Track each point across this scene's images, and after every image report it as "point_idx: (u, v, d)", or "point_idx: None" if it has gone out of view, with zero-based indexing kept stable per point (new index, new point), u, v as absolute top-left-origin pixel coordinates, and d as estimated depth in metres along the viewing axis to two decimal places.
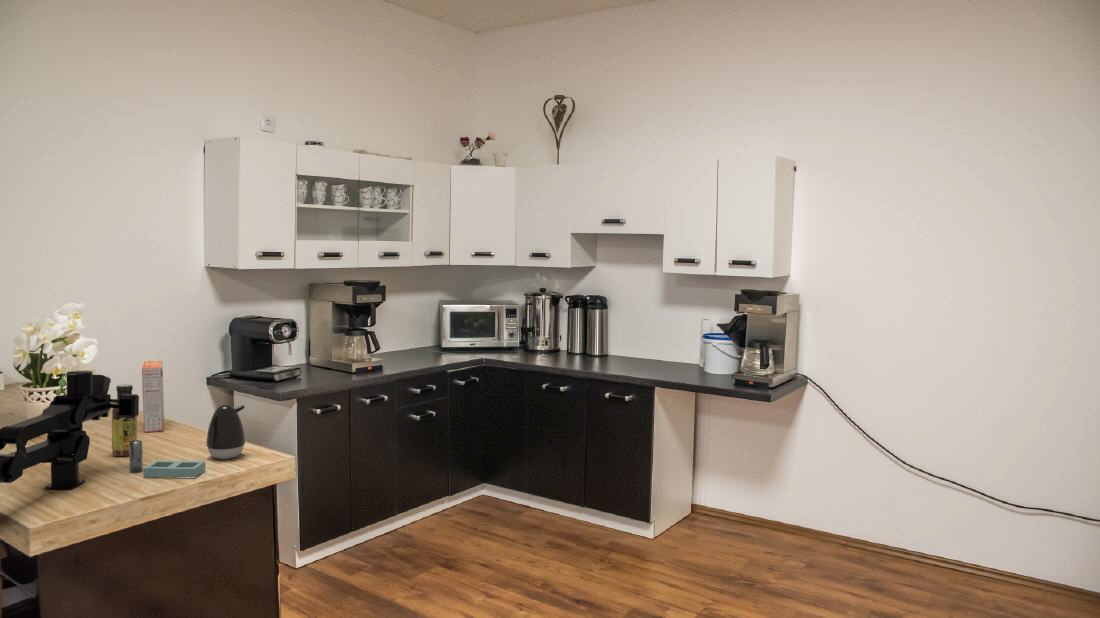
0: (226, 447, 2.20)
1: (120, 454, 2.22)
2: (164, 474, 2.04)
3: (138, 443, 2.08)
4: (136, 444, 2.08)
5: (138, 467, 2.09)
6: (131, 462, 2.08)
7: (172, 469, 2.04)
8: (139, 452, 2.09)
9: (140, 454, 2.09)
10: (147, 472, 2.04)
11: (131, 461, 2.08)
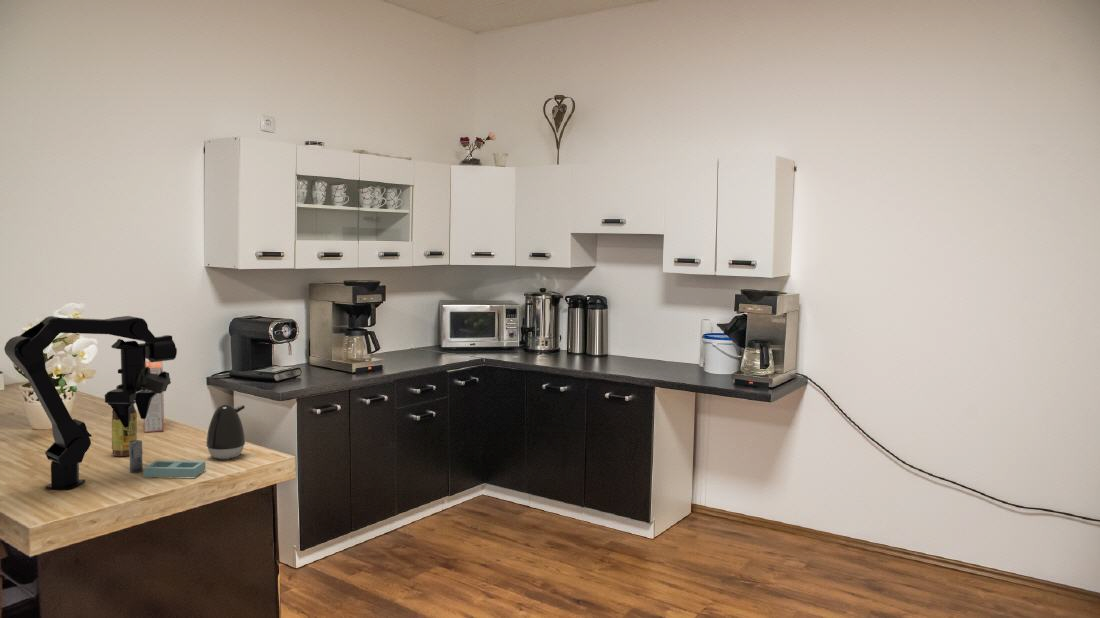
0: (226, 447, 2.20)
1: (120, 454, 2.22)
2: (164, 474, 2.04)
3: (138, 443, 2.08)
4: (136, 444, 2.08)
5: (138, 467, 2.09)
6: (131, 462, 2.08)
7: (172, 469, 2.04)
8: (139, 452, 2.09)
9: (140, 454, 2.09)
10: (147, 472, 2.04)
11: (131, 461, 2.08)
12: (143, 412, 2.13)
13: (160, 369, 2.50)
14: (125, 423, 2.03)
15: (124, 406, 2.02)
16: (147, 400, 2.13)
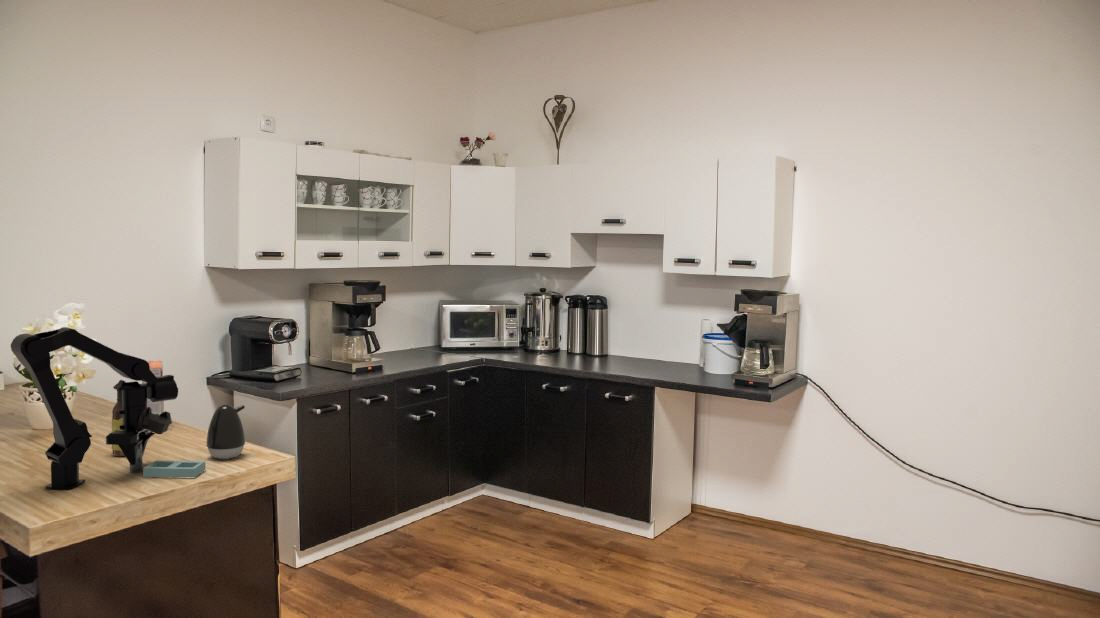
0: (226, 447, 2.20)
1: (120, 454, 2.22)
2: (164, 474, 2.04)
3: None
4: None
5: (138, 467, 2.09)
6: None
7: (172, 469, 2.04)
8: (139, 452, 2.09)
9: (140, 454, 2.09)
10: (147, 472, 2.04)
11: None
12: None
13: (160, 369, 2.50)
14: (132, 461, 2.07)
15: (131, 444, 2.06)
16: (143, 442, 2.11)
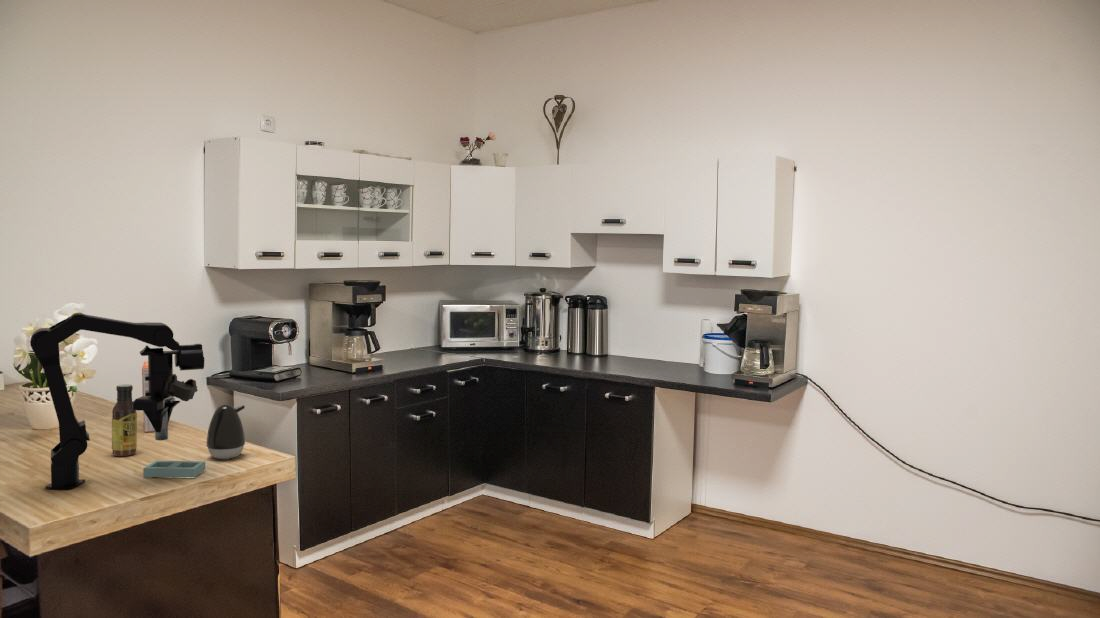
0: (226, 447, 2.20)
1: (120, 454, 2.22)
2: (164, 474, 2.04)
3: None
4: None
5: (164, 434, 2.06)
6: None
7: (172, 469, 2.04)
8: (165, 419, 2.06)
9: (166, 421, 2.06)
10: (147, 472, 2.04)
11: None
12: None
13: None
14: (157, 428, 2.05)
15: (156, 411, 2.04)
16: (168, 410, 2.08)
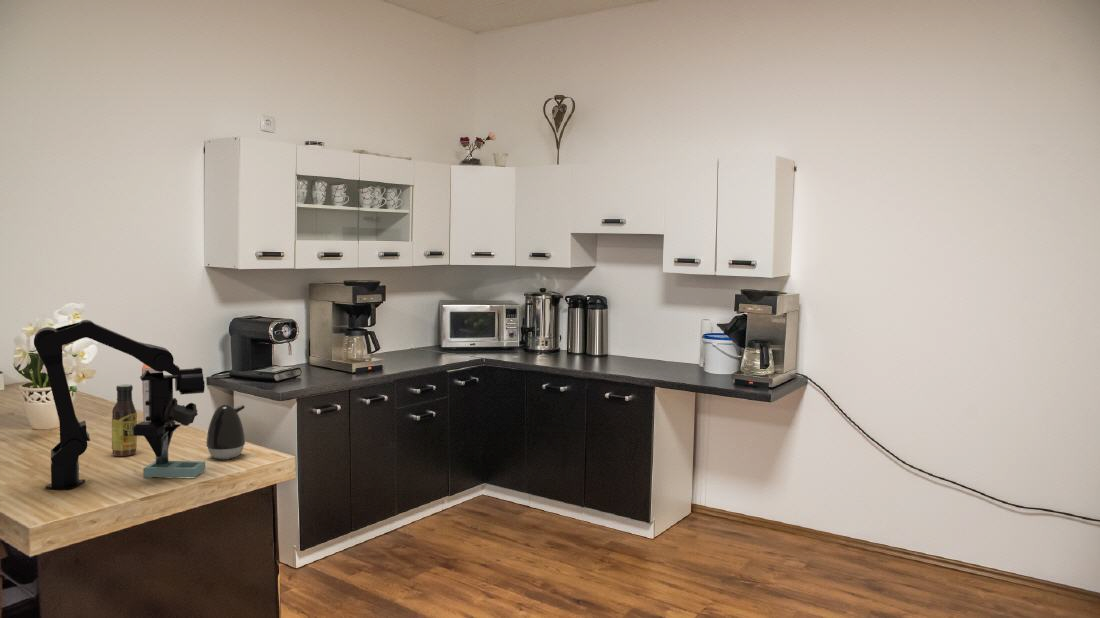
0: (226, 447, 2.20)
1: (120, 454, 2.22)
2: (164, 474, 2.04)
3: None
4: None
5: (164, 459, 2.07)
6: None
7: (172, 469, 2.04)
8: (165, 444, 2.06)
9: (166, 446, 2.07)
10: (147, 472, 2.04)
11: None
12: None
13: None
14: (158, 452, 2.05)
15: (157, 436, 2.04)
16: (169, 434, 2.09)
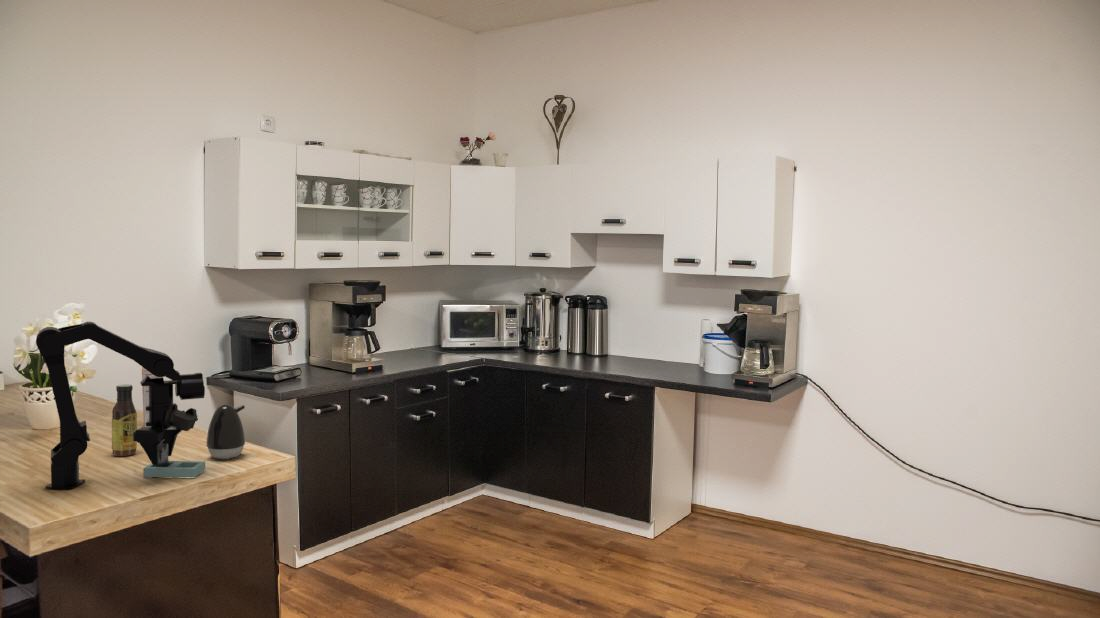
0: (226, 447, 2.20)
1: (120, 454, 2.22)
2: (164, 474, 2.04)
3: (164, 446, 2.06)
4: (162, 447, 2.06)
5: None
6: (157, 465, 2.06)
7: (172, 469, 2.04)
8: (165, 455, 2.07)
9: (166, 457, 2.07)
10: (147, 472, 2.04)
11: (157, 464, 2.06)
12: (169, 449, 2.11)
13: None
14: (154, 460, 2.03)
15: (153, 443, 2.02)
16: (173, 437, 2.11)
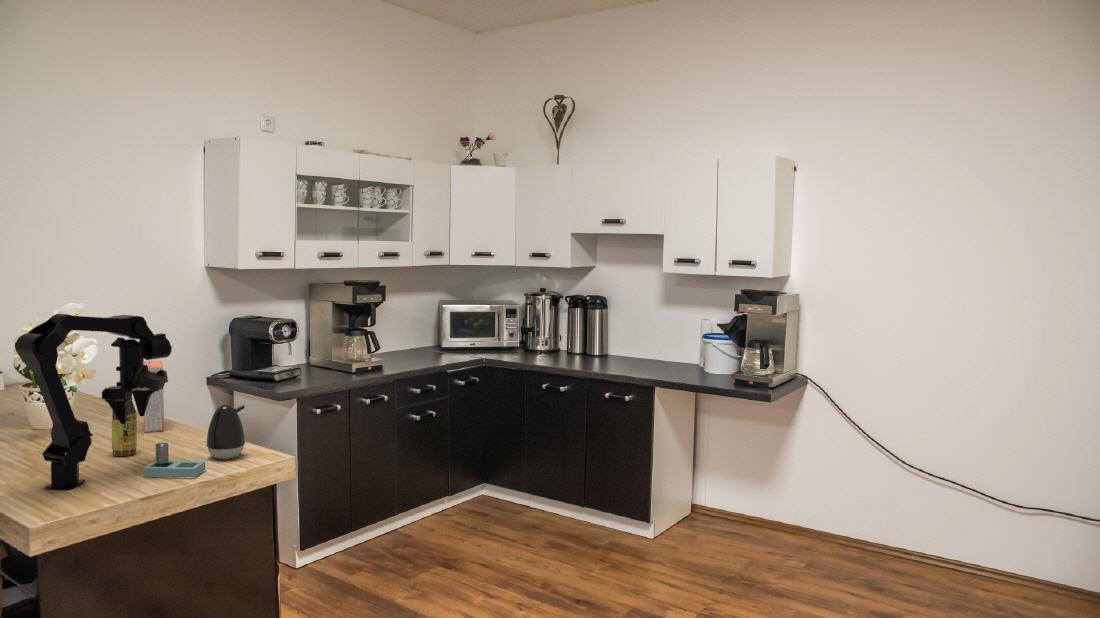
0: (226, 447, 2.20)
1: (120, 454, 2.22)
2: (164, 474, 2.04)
3: (164, 446, 2.06)
4: (162, 447, 2.06)
5: None
6: (157, 465, 2.06)
7: (172, 469, 2.04)
8: (165, 455, 2.07)
9: (166, 457, 2.07)
10: (147, 472, 2.04)
11: (157, 464, 2.06)
12: (142, 410, 2.17)
13: (160, 369, 2.50)
14: (122, 420, 2.07)
15: (121, 403, 2.06)
16: (145, 398, 2.17)
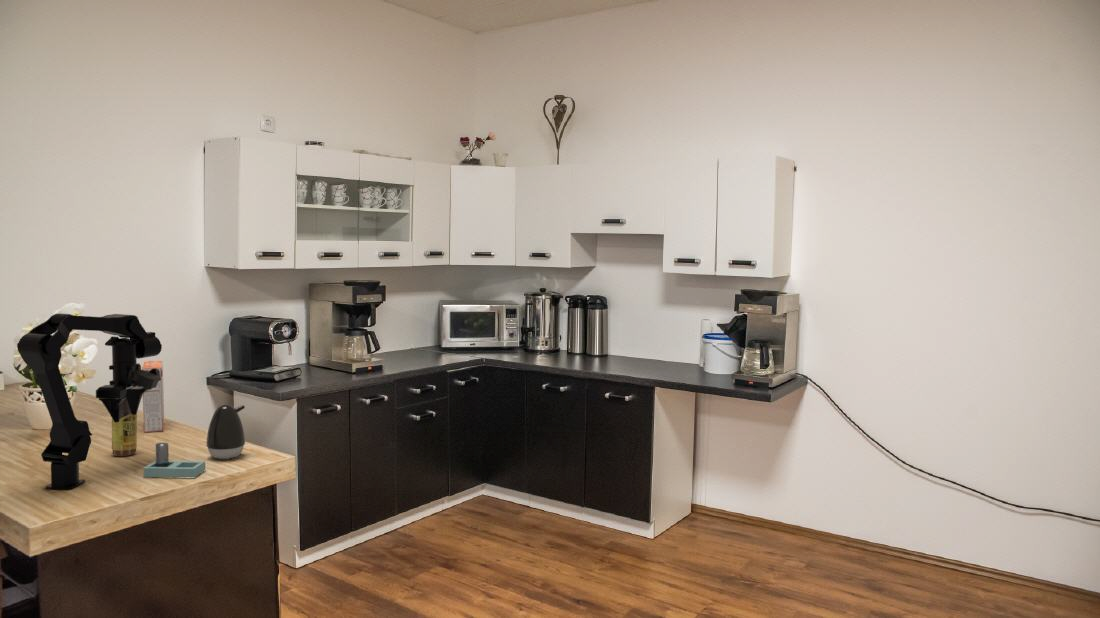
0: (226, 447, 2.20)
1: (120, 454, 2.22)
2: (164, 474, 2.04)
3: (164, 445, 2.06)
4: (162, 446, 2.06)
5: None
6: (157, 465, 2.06)
7: (172, 469, 2.04)
8: (165, 455, 2.07)
9: (166, 457, 2.07)
10: (147, 472, 2.04)
11: (157, 464, 2.06)
12: (134, 408, 2.18)
13: (160, 369, 2.50)
14: (116, 418, 2.08)
15: (115, 401, 2.07)
16: (138, 396, 2.18)
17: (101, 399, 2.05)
